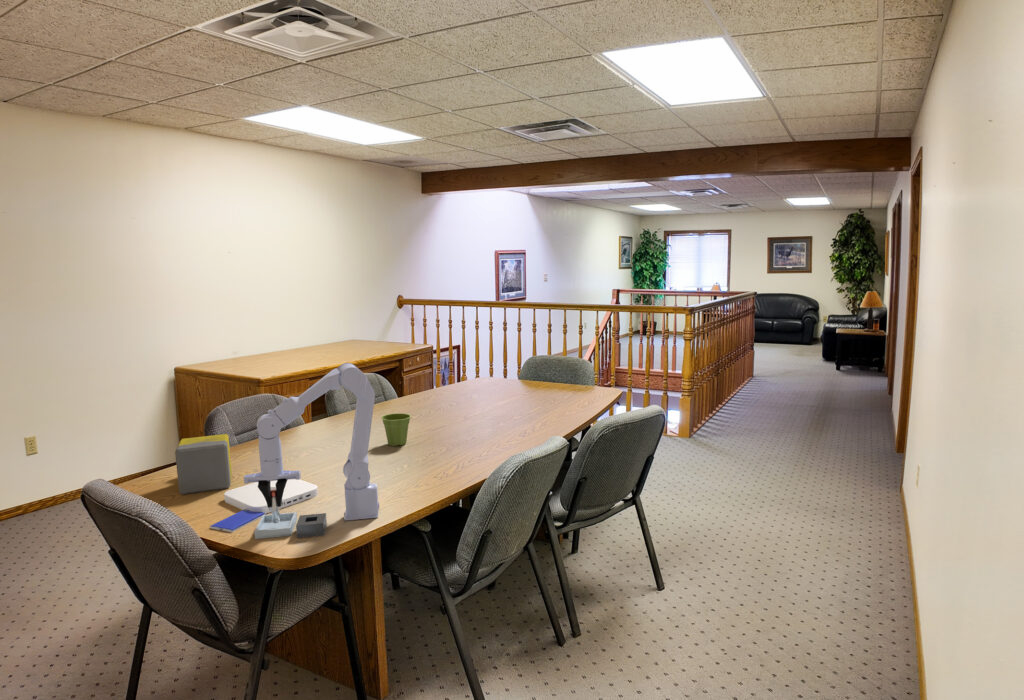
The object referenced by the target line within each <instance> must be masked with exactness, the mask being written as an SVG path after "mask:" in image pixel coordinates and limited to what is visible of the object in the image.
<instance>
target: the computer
mask: <svg viewBox="0 0 1024 700" xmlns="http://www.w3.org/2000/svg"><path fill="white" fill-rule="evenodd" d="M276 482H277V480H276V481H270V487H271V490H274V489H276V485H275V484H276ZM318 488H319V487H318V485H316V484H314V483H311V482H308V481H305V480H303V479H301V478H300V479H299V480H296V479H289V480H287V483H286V485H285V488H284V492H283V496H282V505H281V507H279V510H281V509H284V508H287V507H290V506H293V505H296V504H298V503H301V502H304V501H307V500H310V499H313V498H315V497H317V496H318V495H319V490H318ZM223 496H224V502H225V504H227V505H230V506H232V507H235V508H237V509H240V511H242V510H244V509H246V510H250V511H253V512H264V513H265V515H268V514H269V513H272V512H271V507H270V508H268V506H267V502H266V500H265V498H264V496H263V494H262V492H261V491H260V490H259V488H258V482H251V483H248V484H245V485H242V486H238V487H236V488H233V489H229V490H226V491H225V492H224V494H223Z"/></svg>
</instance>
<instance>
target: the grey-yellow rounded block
mask: <svg viewBox="0 0 1024 700" xmlns="http://www.w3.org/2000/svg"><path fill="white" fill-rule="evenodd" d="M230 448H231V447H230V438H229V434H227V433H223V434H222V433H221V434H215V435H207V436H197V437H187V438H186V437H185V438H181V440H180V441H179V443H178V445H177V447H176V449H175V451H174V453H175V454H174V455H175V464H176V474H177V483H178V492H179V494H180V495H183V496H184V495H189V494H196V493H197V494H198V493H203V492H204V491H205V492H210V491H211V490H212V491H219V490H227V489H229V487H231V483H232V482H231V481H232V475H233V471H232V469H233V468H232V461H231V449H230ZM226 488H227V489H226ZM218 489H219V490H218ZM212 491H211V492H212Z"/></svg>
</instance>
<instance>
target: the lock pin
mask: <svg viewBox="0 0 1024 700" xmlns="http://www.w3.org/2000/svg"><path fill="white" fill-rule="evenodd" d="M270 500H271V512H270V513H271V514H272V523H279V522H280V515H279V514H280V509H279V507H278V504H277V490H276V489H274V490H270Z"/></svg>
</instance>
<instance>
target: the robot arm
mask: <svg viewBox="0 0 1024 700" xmlns="http://www.w3.org/2000/svg"><path fill="white" fill-rule="evenodd" d="M342 387H343V388H344V389H346V390H348V391H350V392H351V393H353V395H354V396H355V397H356V404H355V412H354V419H353V420H354V421H353V427H352V436H351V442H350V450H349V453H348V456H347V460H346V462H345V464H344V465H343V470H342V472H343V475H344V477H345V478H346V480H345V482H344V484H343V485H344V500H345V512H344V518H343V521H354V520H357V521H358V520H368V519H376V518H378V517H379V509H380V502H379V492H378V483H371V481H370V479H371V473H370V471H369V458H368V457H369V456H368V454H369V445H370V437H371V432H372V431H371V430H372V423H373V416H374V407H375V406H374V405H375V399H376V398H375V397H376V392H375V390H374V389H373V387H372V385H371V383H370V381H369V378H368V377H367V375H366V374H365V373H364V372H363V371H362V370H361V369H359V368H358V367H357V365H355V364H354V363H351V362H344V363H342V364H340V365H339V366H338V367H336V368H334V369H332V370H330V371H329V372H328V373H327V374H326V375H325V374H324V376H323V377H322V378H320V379H319V380H318V381H316V382H315V383H314V384H312V385H311V386H310V387H309V388H308V389H306V390H305V391H304V392H303V393H301V394H300V395H298V396H289V397H288V398H287V397H284V398H283V399H282V402H281V403H280V404H278V405H277V406H275V408H273V409H268V411H267V414H266V413H265V414H262V415H261V416H260V417H259V418H258V419H257V421H256V425H255V426H256V430H257V433H258V436H257V437H258V453H259V465H260V466H259V467H260V472H256V473H255V472H254V473H250V474H245V475H244V476H243V484H245V485H248V484H251V483H255V482H258V488H259V490H260V491H261V492H262V494H263V496H264V498H265V500H266V502H267V506H268V508H270V507H271V500H270V490H271V487H270V481H276V480H277V482H276V484H275V485H276V490H277V504H278V507H281V505H282V496H283V492H284V488H285V485H286V483H287V480H289V479H296V480H299V479H300V480H301V478H302V477H301V474H302V473H301V470H287V469H286V470H284V464H283V463H284V461H283V453H282V441H281V439H280V433H281V429H282V428H285V427H287V426H288V425H289V424H291V423H292V422H293V421H295V420H296V419H298V418H299V417H300V416H302V415H303V414H304V413H305V408H306V407H307V406H308V405H309V404H311V403H312V402H314V401H315V400H317V399H318V398H320V397H322V396H323V395H324V394H326V393H327V392H329V391H338V390H342Z"/></svg>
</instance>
